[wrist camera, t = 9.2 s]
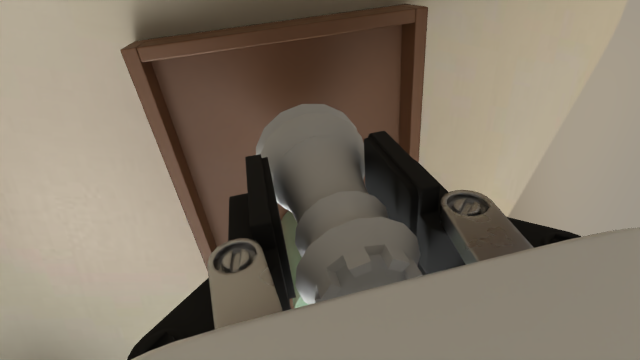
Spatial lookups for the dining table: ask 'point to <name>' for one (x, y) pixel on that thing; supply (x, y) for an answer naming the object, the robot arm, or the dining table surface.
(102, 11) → the dining table surface
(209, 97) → the tray
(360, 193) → the rook chess piece
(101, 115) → the dining table surface
